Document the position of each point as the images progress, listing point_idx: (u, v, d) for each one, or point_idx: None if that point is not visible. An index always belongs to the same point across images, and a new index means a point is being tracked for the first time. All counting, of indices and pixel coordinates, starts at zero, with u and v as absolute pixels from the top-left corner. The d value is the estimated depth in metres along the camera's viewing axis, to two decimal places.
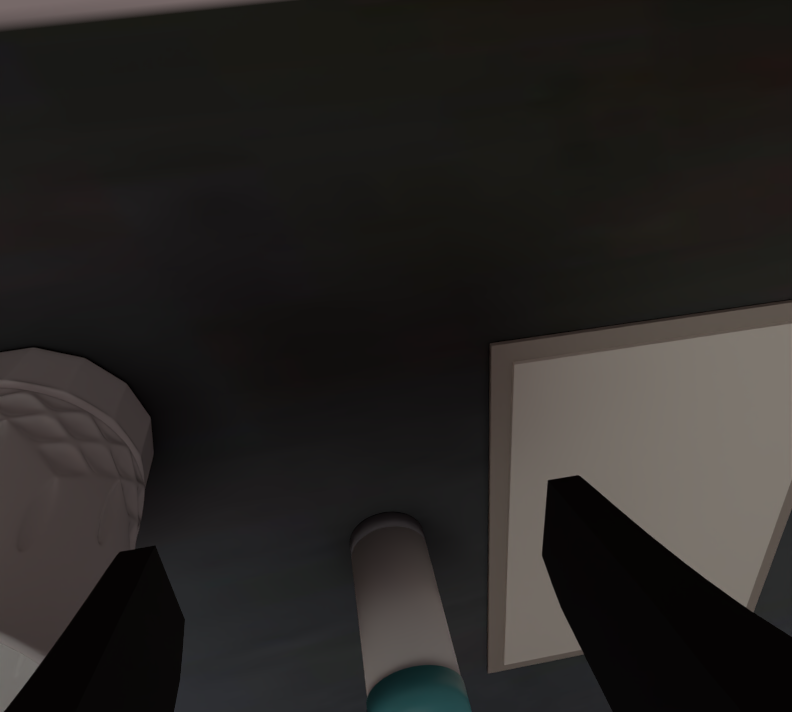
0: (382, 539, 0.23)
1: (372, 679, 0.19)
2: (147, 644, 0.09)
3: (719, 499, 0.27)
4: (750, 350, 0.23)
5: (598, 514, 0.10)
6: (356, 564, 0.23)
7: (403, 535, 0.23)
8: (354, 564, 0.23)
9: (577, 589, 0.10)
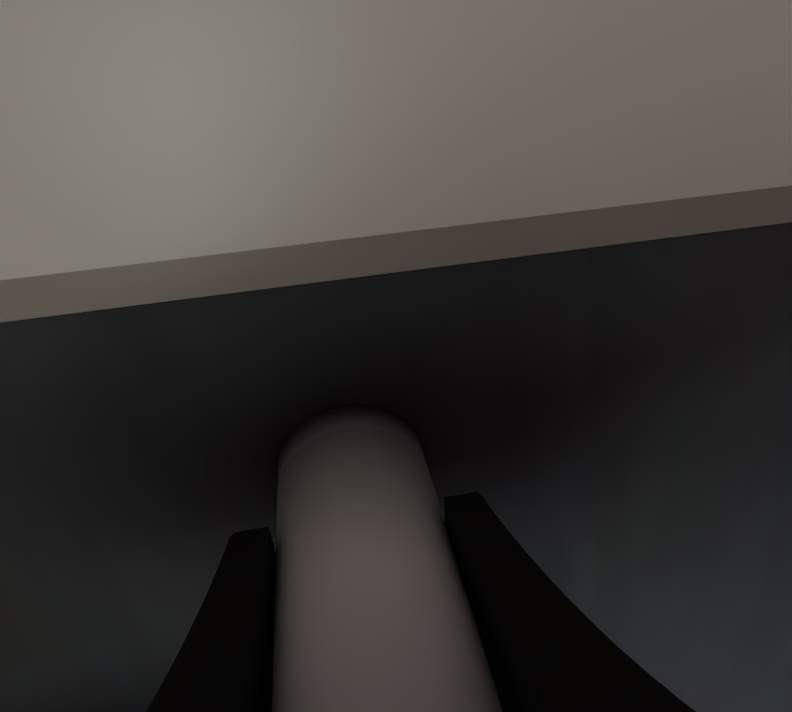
0: None
1: None
2: (271, 622, 0.09)
3: None
4: None
5: (482, 535, 0.09)
6: None
7: (279, 494, 0.11)
8: None
9: None
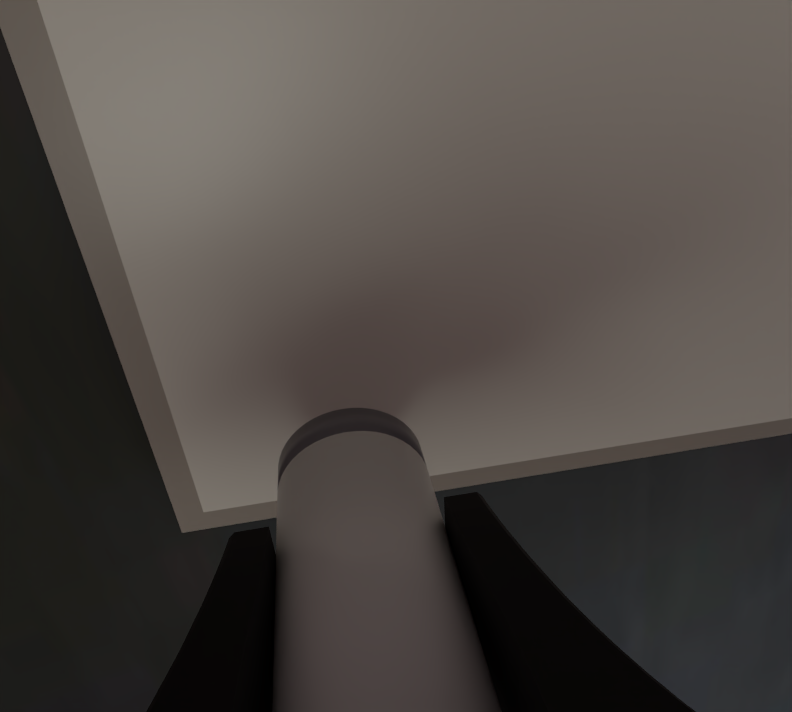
0: None
1: None
2: (271, 621, 0.09)
3: (538, 78, 0.12)
4: (137, 142, 0.11)
5: (482, 534, 0.09)
6: None
7: (279, 498, 0.11)
8: None
9: None
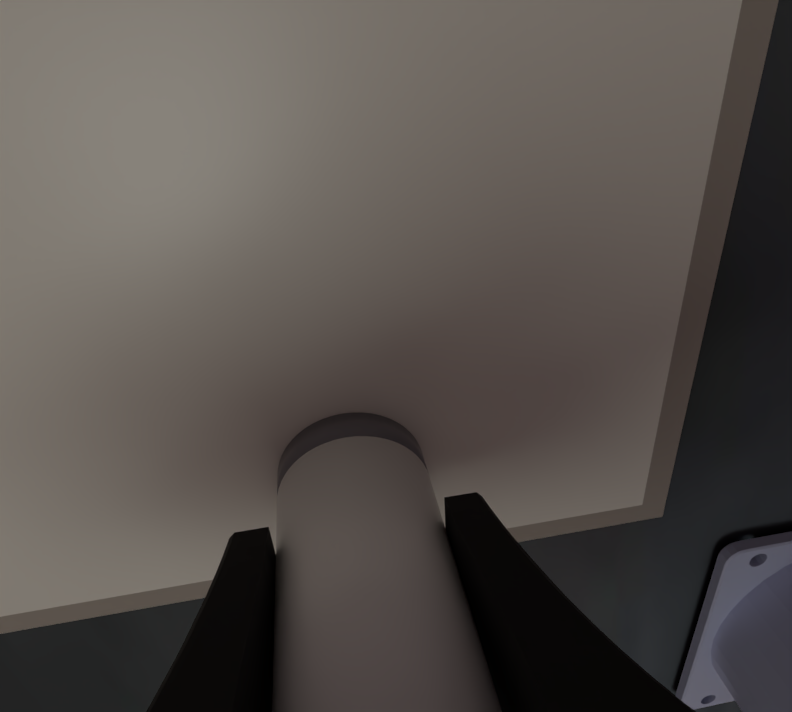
0: None
1: None
2: (271, 622, 0.09)
3: (147, 129, 0.09)
4: None
5: (482, 534, 0.09)
6: None
7: (279, 504, 0.11)
8: None
9: None
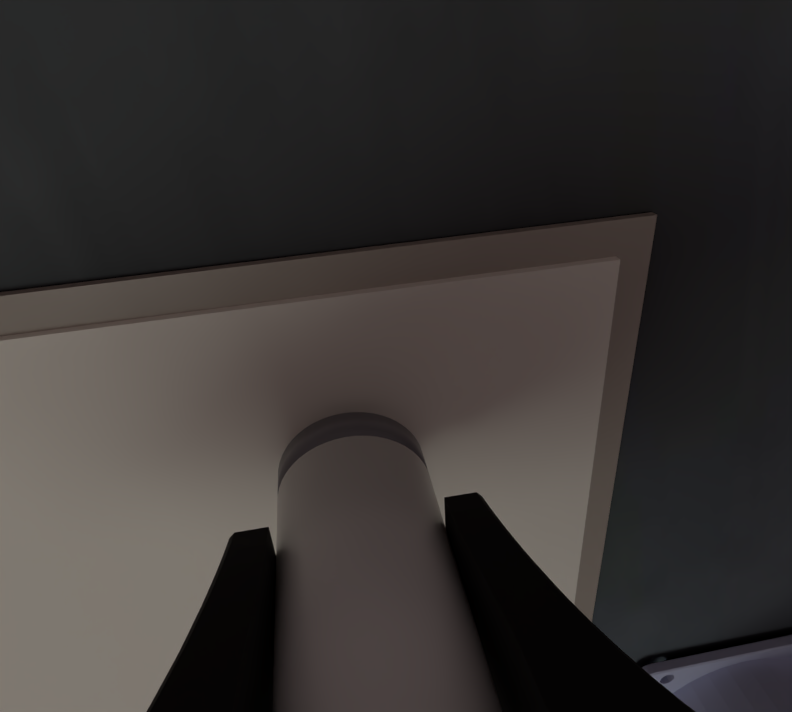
0: None
1: None
2: (271, 621, 0.09)
3: (197, 458, 0.13)
4: None
5: (482, 534, 0.09)
6: None
7: (279, 503, 0.11)
8: None
9: None
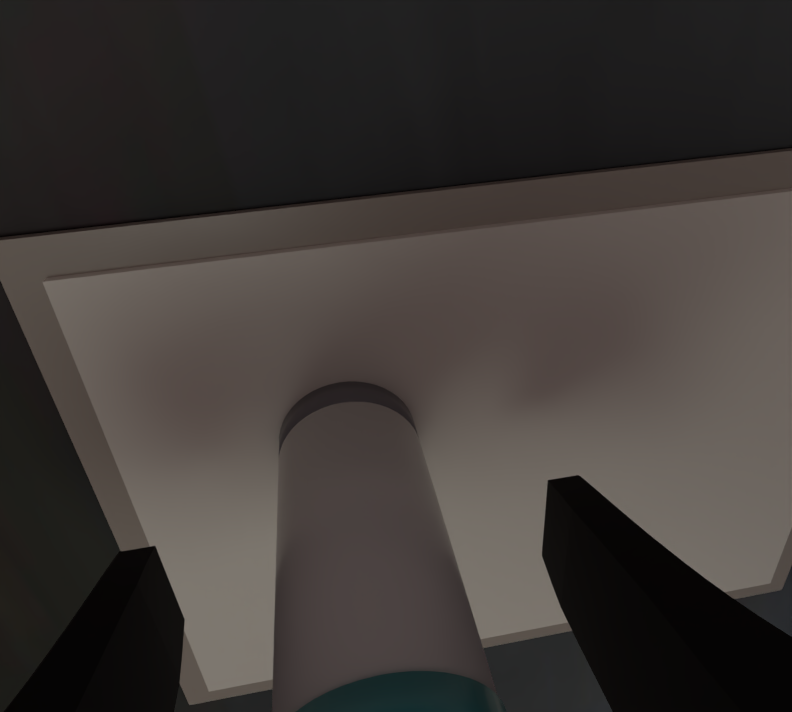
0: None
1: None
2: (147, 644, 0.09)
3: (500, 370, 0.14)
4: (154, 438, 0.13)
5: (598, 514, 0.10)
6: None
7: (280, 464, 0.12)
8: None
9: (577, 589, 0.10)
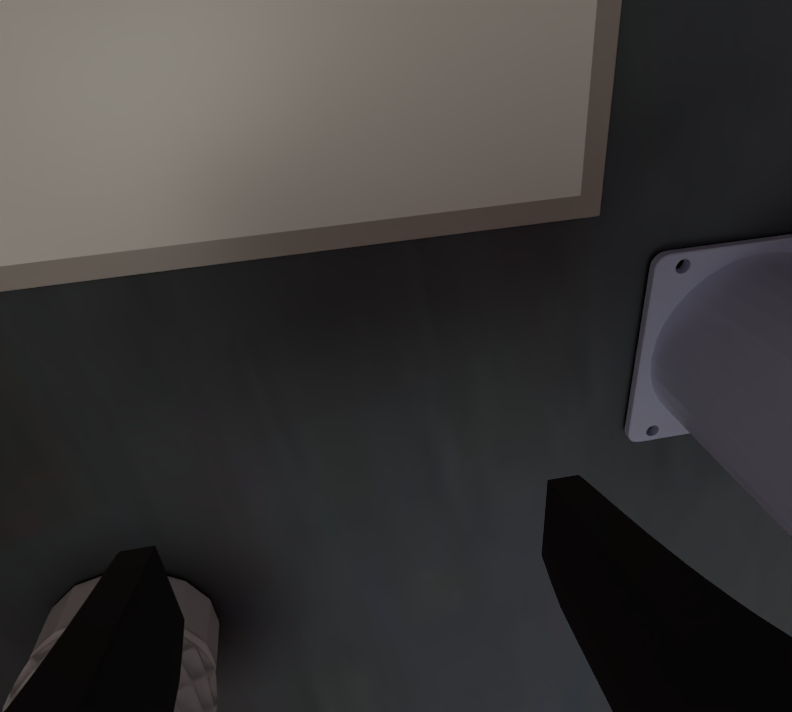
0: None
1: None
2: (147, 644, 0.09)
3: None
4: None
5: (598, 514, 0.10)
6: None
7: None
8: None
9: (577, 589, 0.10)
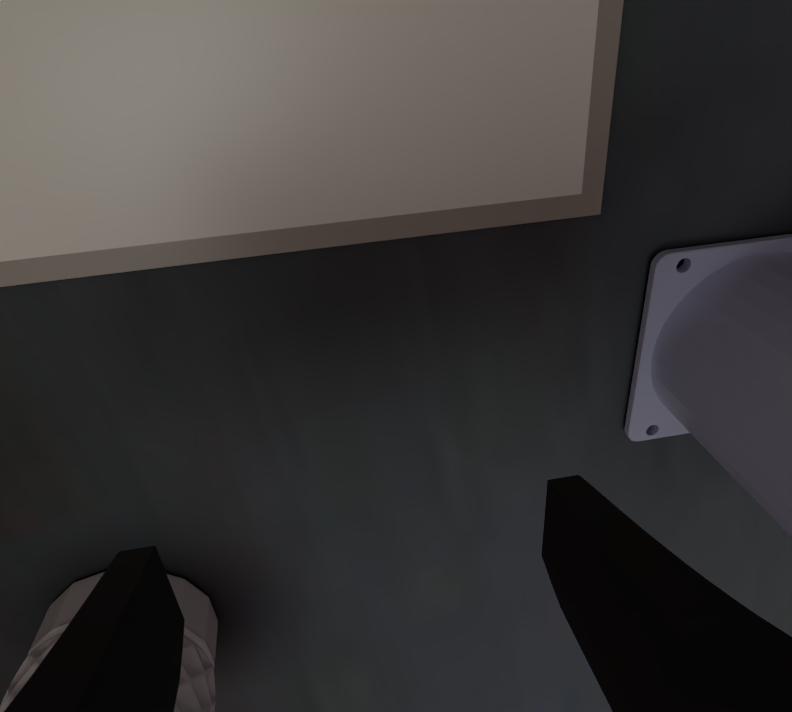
0: None
1: None
2: (147, 644, 0.09)
3: None
4: None
5: (598, 514, 0.10)
6: None
7: None
8: None
9: (577, 589, 0.10)
